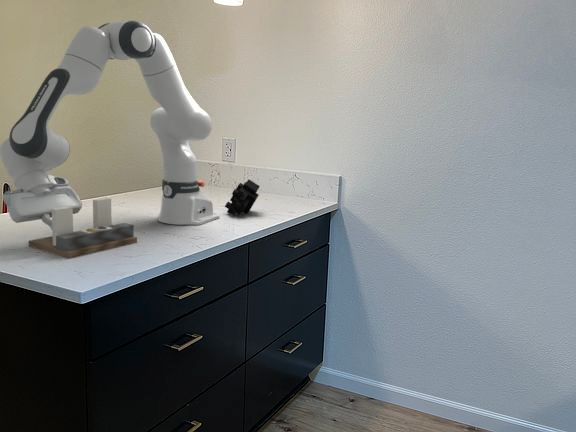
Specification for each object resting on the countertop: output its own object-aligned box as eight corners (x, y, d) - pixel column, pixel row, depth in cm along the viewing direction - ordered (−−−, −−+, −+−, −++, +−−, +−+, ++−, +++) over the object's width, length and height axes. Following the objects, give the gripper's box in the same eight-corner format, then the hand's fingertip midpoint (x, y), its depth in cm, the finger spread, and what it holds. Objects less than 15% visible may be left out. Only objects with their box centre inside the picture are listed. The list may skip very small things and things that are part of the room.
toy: (219, 214, 211) (234, 195, 224) (238, 226, 212) (252, 206, 224) (231, 191, 205) (246, 173, 217) (251, 204, 205) (265, 185, 217)
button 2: (106, 230, 174) (105, 197, 172) (111, 231, 173) (111, 198, 171) (92, 232, 170) (91, 199, 168) (97, 234, 168) (97, 200, 166)
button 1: (68, 241, 159) (67, 206, 157) (73, 243, 157) (72, 207, 155) (51, 244, 155) (50, 208, 153) (57, 246, 153) (56, 209, 151)
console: (97, 232, 178) (96, 214, 177) (137, 242, 168) (137, 224, 167) (28, 245, 159) (27, 226, 158) (69, 258, 150) (68, 237, 148)
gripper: (4, 185, 149) (27, 228, 146) (71, 178, 166) (94, 216, 163) (-5, 199, 153) (18, 241, 149) (62, 191, 169) (84, 229, 166)
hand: (58, 228), depth 156 cm, fingers closed, pressing on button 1
